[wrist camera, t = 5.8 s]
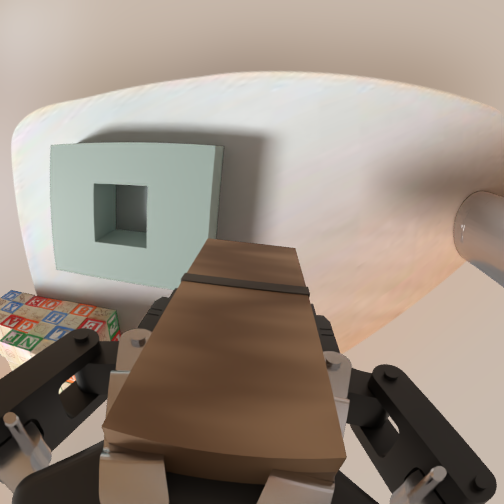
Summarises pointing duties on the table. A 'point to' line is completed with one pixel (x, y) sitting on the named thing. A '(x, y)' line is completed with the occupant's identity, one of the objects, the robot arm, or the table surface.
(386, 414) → the robot arm
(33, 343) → the stack of blocks
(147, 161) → the socket board
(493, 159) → the table surface
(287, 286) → the walnut peg
